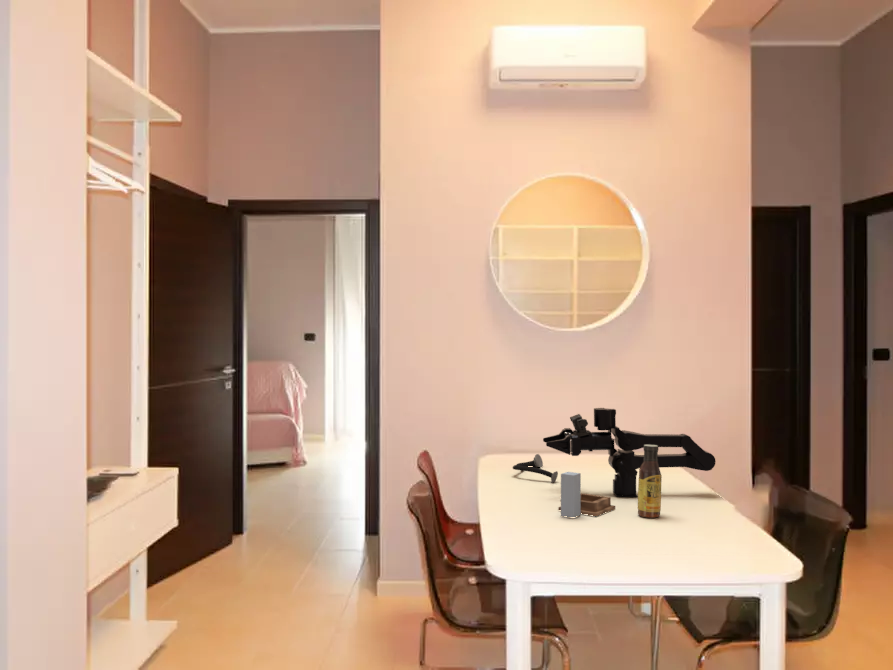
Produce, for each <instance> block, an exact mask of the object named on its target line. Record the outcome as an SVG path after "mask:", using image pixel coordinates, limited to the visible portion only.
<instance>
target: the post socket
mask: <svg viewBox="0 0 893 670" xmlns="http://www.w3.org/2000/svg"><path fill="white" fill-rule="evenodd" d="M611 503H612V500H611V497H610V496H603V495H597V494H589V493H584V492H581V513H582V514H588V515H593V516H598V515H600V514H603V513H605V512H608V511H610V512H612V511H614V509H615V510H616V505H612V504H611ZM557 508H558V509H557V510H561V506H558V507H557ZM611 510H612V511H611ZM608 513H609V512H608ZM605 514H606V513H605ZM603 515H604V514H603ZM600 516H601V515H600ZM598 517H599V516H598Z"/></svg>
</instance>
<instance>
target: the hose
mask: <svg viewBox="0 0 893 670" xmlns="http://www.w3.org/2000/svg"><path fill="white" fill-rule="evenodd" d="M528 466H533V467H528ZM542 466H544V463H543V459H542V457H541V455H540V454H539V453H537V454H535V455H534V457H533V460H530V461H526V462H525V461H524V462H519V463H516V464H514V465H513V466H512V469H513V470H515V471H524V472H529V473H534V474H538V475H543V476H546V477H547V478H550V481H551V484H554V483H556V481H557V479H558V475H559V472H558V471H553V472H551V471H548V470H546V469H542V468H543V467H542ZM537 467H542V468H537ZM553 482H554V483H553Z"/></svg>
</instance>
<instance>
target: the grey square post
mask: <svg viewBox="0 0 893 670" xmlns="http://www.w3.org/2000/svg"><path fill="white" fill-rule="evenodd" d="M581 477H582V476H581V473H580V472H573V471H565V472H562V473H560V507H561V511H560V517H561V516H567V517H576V516H579V515H581V493H582V491H581V489H582V488H581V485H582V484H581V479H582V478H581ZM581 516H582V515H581Z"/></svg>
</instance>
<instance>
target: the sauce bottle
mask: <svg viewBox="0 0 893 670" xmlns="http://www.w3.org/2000/svg"><path fill="white" fill-rule="evenodd" d="M642 449H643V455H644V462H643V463H642V465H641V467H640V468H639V471H638V484H637V485H638V487H637V510H638V511H637V515H638V516H639V517H642V518H649V519H651V518H652V519H655V518H658V517H660V516H661V507H662V506H661V505H662V478H663V477H662V475H663V474H662V472H661V470H660V467H659V465H658V459H657V456H658V453H659V447H658V446H657V445H644V448H642Z"/></svg>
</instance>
